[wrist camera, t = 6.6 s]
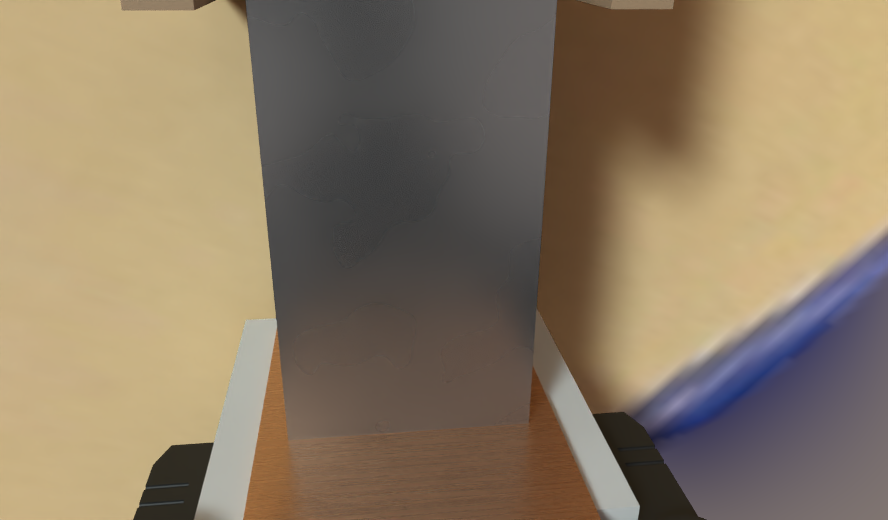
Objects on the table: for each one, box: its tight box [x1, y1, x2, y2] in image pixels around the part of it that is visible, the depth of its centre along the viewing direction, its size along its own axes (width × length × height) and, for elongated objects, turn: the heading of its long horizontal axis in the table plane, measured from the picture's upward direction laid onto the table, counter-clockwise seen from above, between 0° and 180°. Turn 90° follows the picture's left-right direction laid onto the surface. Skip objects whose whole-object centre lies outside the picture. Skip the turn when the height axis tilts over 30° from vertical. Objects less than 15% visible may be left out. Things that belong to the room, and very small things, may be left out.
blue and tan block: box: [243, 0, 601, 520], centre depth 11 cm, size 14×5×9 cm, turn 179°
